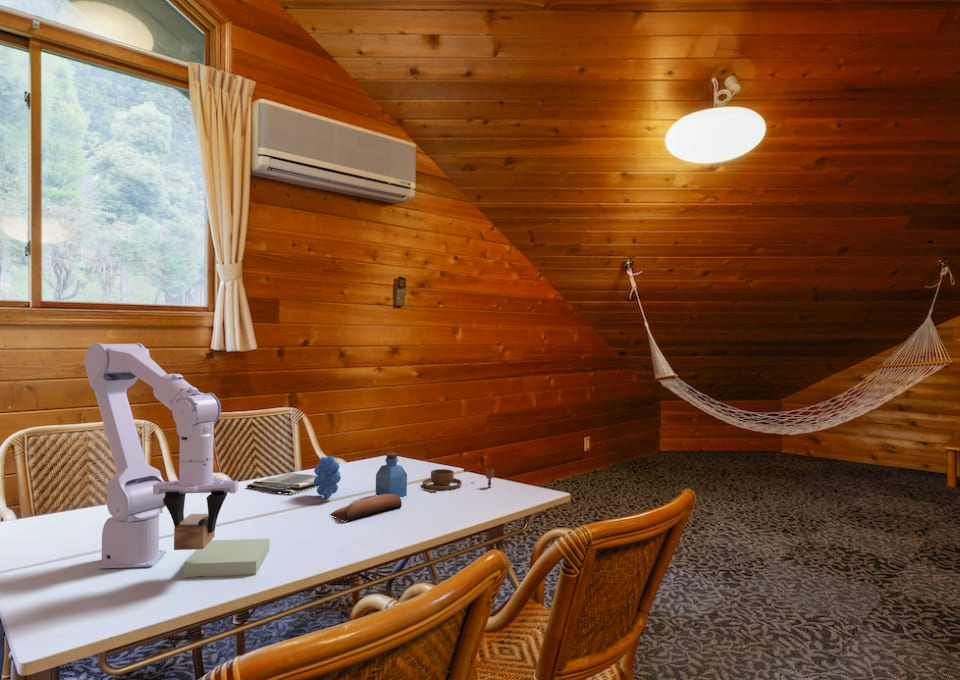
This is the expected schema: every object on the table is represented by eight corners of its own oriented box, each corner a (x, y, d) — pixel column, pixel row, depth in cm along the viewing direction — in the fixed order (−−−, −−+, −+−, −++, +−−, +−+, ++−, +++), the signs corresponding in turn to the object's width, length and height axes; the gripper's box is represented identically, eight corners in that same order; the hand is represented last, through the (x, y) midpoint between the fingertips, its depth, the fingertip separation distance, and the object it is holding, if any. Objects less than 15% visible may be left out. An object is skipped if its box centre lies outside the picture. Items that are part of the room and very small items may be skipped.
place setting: (444, 479, 198) (444, 460, 198) (496, 488, 186) (497, 469, 186) (408, 490, 183) (409, 470, 183) (463, 500, 172) (464, 479, 172)
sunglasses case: (381, 501, 168) (389, 482, 165) (395, 519, 164) (404, 500, 162) (325, 515, 154) (334, 495, 152) (340, 535, 150) (349, 514, 148)
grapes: (351, 499, 170) (352, 456, 170) (330, 503, 165) (331, 459, 165) (328, 491, 178) (329, 450, 178) (307, 495, 173) (308, 453, 173)
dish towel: (289, 477, 196) (289, 467, 196) (333, 484, 189) (334, 473, 189) (244, 490, 180) (244, 479, 180) (291, 498, 172) (291, 486, 172)
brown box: (173, 549, 111) (174, 527, 111) (187, 537, 118) (187, 516, 118) (202, 549, 111) (203, 527, 111) (214, 536, 118) (214, 516, 118)
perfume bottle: (406, 496, 174) (407, 454, 174) (389, 500, 169) (390, 457, 169) (392, 492, 178) (393, 451, 178) (375, 496, 174) (376, 453, 174)
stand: (183, 577, 114) (183, 563, 114) (204, 552, 127) (204, 540, 127) (256, 574, 116) (256, 561, 116) (269, 550, 129) (269, 538, 129)
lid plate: (179, 530, 112) (179, 522, 112) (190, 521, 117) (190, 513, 117) (197, 530, 112) (198, 522, 112) (208, 521, 117) (208, 513, 117)
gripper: (146, 464, 110) (145, 539, 110) (231, 463, 112) (230, 537, 112) (161, 456, 117) (160, 527, 117) (241, 455, 119) (240, 525, 119)
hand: (195, 531), depth 115 cm, fingers closed on brown box, 5 cm apart
